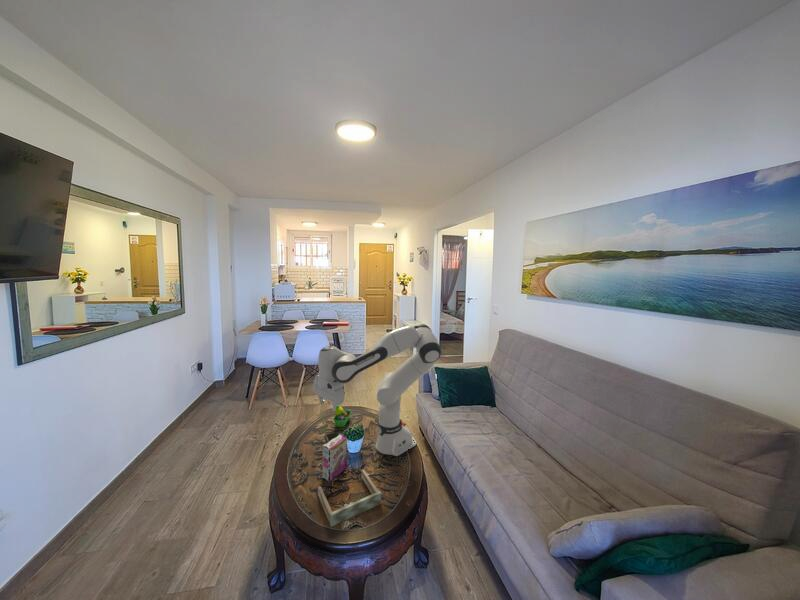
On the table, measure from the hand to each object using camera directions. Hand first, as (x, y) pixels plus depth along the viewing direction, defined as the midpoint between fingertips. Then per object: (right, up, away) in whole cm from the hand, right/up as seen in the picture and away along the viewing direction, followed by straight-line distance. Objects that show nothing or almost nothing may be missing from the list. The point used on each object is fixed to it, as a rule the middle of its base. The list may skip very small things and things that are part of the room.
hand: (327, 406), depth 144 cm
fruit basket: (-1, -24, +38) cm, 45 cm away
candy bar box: (+4, -30, -4) cm, 31 cm away
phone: (-1, -27, +20) cm, 33 cm away
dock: (+13, -32, -18) cm, 39 cm away
